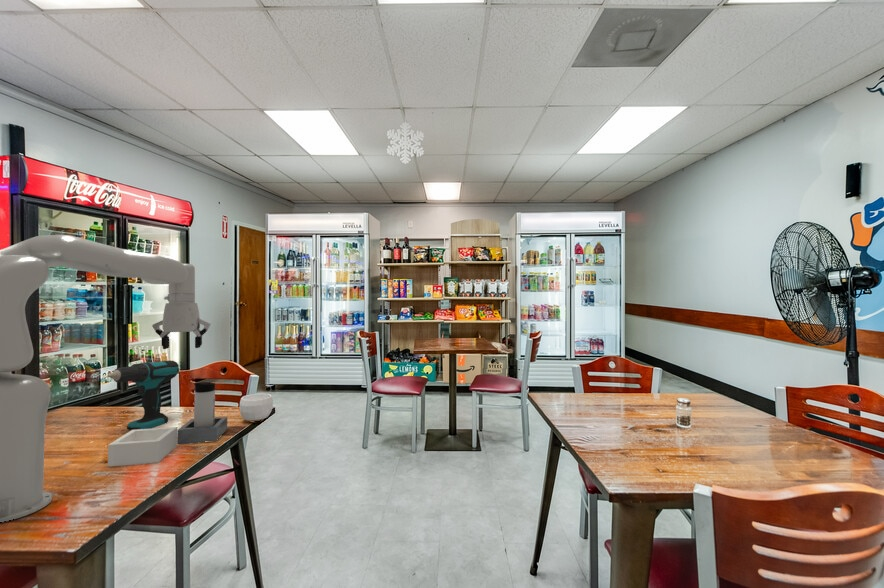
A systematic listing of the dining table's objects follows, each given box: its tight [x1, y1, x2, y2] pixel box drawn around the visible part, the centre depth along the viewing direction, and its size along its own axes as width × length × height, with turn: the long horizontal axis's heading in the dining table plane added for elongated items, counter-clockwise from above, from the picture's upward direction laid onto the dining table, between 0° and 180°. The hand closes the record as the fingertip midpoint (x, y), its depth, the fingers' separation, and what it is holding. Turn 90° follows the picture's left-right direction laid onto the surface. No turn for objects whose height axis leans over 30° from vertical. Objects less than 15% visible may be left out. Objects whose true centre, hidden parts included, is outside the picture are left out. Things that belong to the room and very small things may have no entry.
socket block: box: [177, 416, 228, 445], centre depth 135 cm, size 12×12×5 cm
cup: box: [239, 392, 274, 422], centre depth 154 cm, size 12×12×10 cm
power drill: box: [107, 360, 180, 430], centre depth 144 cm, size 26×9×25 cm, turn 168°
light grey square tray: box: [107, 426, 179, 468], centre depth 119 cm, size 13×13×6 cm
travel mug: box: [193, 381, 216, 428], centre depth 135 cm, size 6×7×20 cm
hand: (182, 348), depth 130 cm, fingers open, 9 cm apart
